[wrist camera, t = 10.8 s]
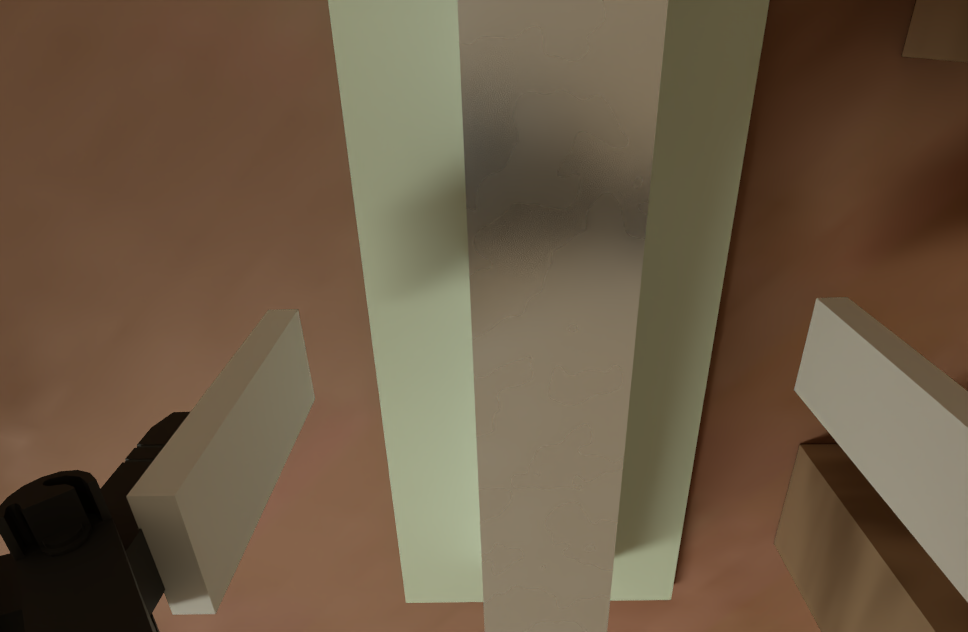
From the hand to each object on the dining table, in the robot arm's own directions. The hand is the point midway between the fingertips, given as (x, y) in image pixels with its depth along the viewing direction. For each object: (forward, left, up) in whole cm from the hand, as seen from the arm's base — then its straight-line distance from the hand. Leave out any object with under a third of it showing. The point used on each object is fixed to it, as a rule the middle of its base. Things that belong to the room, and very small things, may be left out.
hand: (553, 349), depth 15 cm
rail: (0, 0, -3) cm, 3 cm away
